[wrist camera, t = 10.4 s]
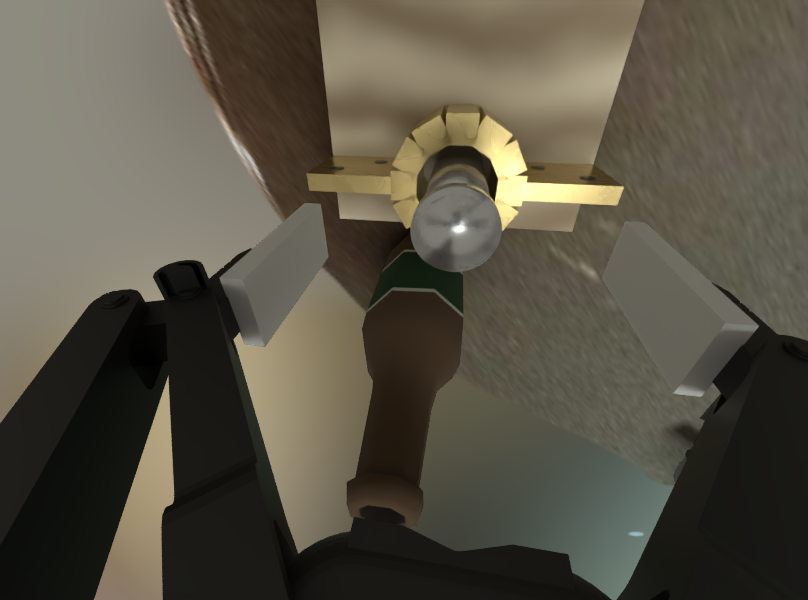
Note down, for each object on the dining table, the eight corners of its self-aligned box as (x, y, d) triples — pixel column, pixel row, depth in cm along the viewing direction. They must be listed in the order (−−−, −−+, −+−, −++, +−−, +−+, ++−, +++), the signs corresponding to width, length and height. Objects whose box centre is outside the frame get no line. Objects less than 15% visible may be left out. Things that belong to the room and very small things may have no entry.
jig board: (320, -8, 23) (314, -11, 22) (641, -14, 21) (650, -18, 20) (343, 213, 32) (340, 218, 31) (568, 226, 30) (572, 231, 29)
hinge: (327, 102, 26) (296, 109, 21) (611, 106, 24) (650, 116, 19) (339, 213, 31) (317, 240, 26) (573, 226, 29) (596, 258, 24)
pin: (432, 135, 26) (411, 185, 16) (491, 137, 26) (509, 189, 15) (429, 193, 29) (409, 268, 19) (482, 196, 28) (493, 275, 18)
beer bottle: (478, 244, 32) (505, 512, 13) (445, 303, 37) (428, 568, 17) (403, 214, 32) (313, 448, 12) (379, 278, 36) (285, 524, 17)
